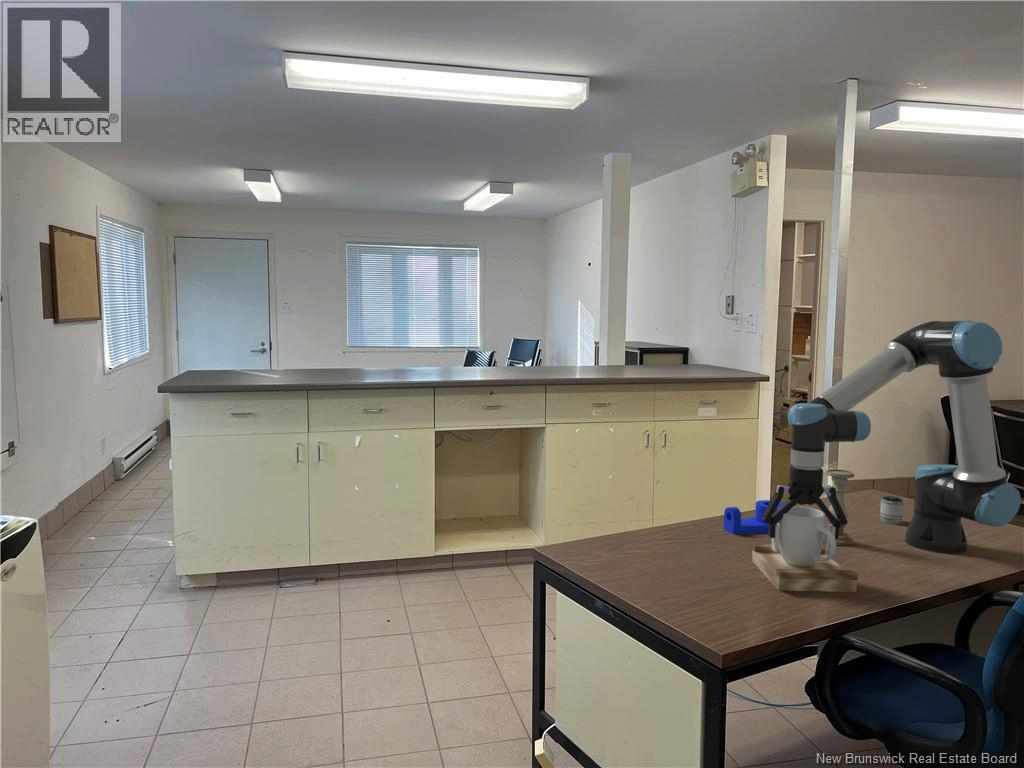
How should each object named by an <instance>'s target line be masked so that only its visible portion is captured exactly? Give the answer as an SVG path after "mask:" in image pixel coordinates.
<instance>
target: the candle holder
mask: <svg viewBox="0 0 1024 768" xmlns="http://www.w3.org/2000/svg"><path fill="white" fill-rule="evenodd" d="M824 473H825V475H826V476H829V477H830V479H831V481H832V482H833V486H832V487H834V488H835V489H836V497H837V499H838V502H839V504H840V506H841V508H842V510H843V513H844V515H845V517H846V519H847V520H848V516H849V514H848V513H849V512H848V509H847V507H846V505H845V492H847V489H846V486H845V485H846V483H847V482H848V479H852V478H855V476H856V475H855V473H854V472H853V471H850V470H846V469H837V468H836V469H831V468H829V469H827V470H825V471H824ZM828 509H829V511H830V512H831V513H832V514H833V516H834V517H835V518H836V519H838V518H837V516H836V514H835V511H834V509H833V507H832V505H831V504H829V507H828ZM828 524H831V525H832V523H831V522H830V521H829V520H828V521H827V525H828ZM845 527H847V524H846V525H845V524H843V525H841V527H840V528H839V537H838V539H835V541H836V546H850V545H852V544H853V543H854V539H853V538H852V537H851V536H850V535H849V533H847V532H845V531H844V529H845ZM823 543H825V544H827V535H826V534H824V541H823Z"/></svg>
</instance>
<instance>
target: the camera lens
mask: <svg viewBox="0 0 1024 768" xmlns="http://www.w3.org/2000/svg"><path fill="white" fill-rule="evenodd" d="M903 516H904V500H903V499H901V498H900V497H897V496H893V495H891V496H889V495H886V496H883V497H882V498H880V511H879V518H880V521H881V522H882V523H884V524H888V525H901V524H902V521H903Z"/></svg>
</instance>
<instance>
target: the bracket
mask: <svg viewBox="0 0 1024 768" xmlns="http://www.w3.org/2000/svg"><path fill="white" fill-rule="evenodd" d="M770 501H771V499H770V500H768V499H767V500H766V499H765V500H763V499H762V500H761V499H760V500H757V501H755V510H754V512H755V513H754V517H749V518H742V513H741V510H740V509H739V507H737V506H730V507H728V506H727V507H726V508H724V509H725V510H724V512H723V513H724V515H723V531H725V532H728V533H730V534H732V535H743V534H744V535H745V534H747V535H748V534H765V533H766V534H768V533H767V532H768V528H769V524H768V523H765V522H764V521H763V520H762V519H761V516H762V515H763V513H764V511H765V509H766V508H767V506H768V504H769V502H770ZM783 503H784V502H782V501H780V503H779V505H778V506H777V508H776V510H775V512H776V511H777V510H778V508H780V507H781V505H782V504H783ZM775 512H774V513H775Z"/></svg>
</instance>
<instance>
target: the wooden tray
mask: <svg viewBox="0 0 1024 768" xmlns="http://www.w3.org/2000/svg"><path fill="white" fill-rule="evenodd" d="M771 544H772V543H752V544H751V545H752V546H751V550H752V552H751V553H752V555H751V562H752V563H753V564H754V565H755V567H757V568H758V570H760V572H762V574H763V575H764V576H765V577H766V578H767V579H768V580H769V581H770V582H771V584H772V585H773V586H774V587H775V588H776V589H777V590H778V591H793V592H794V591H795V592H796V591H797V592H798V591H799V592H804V591H805V592H833V593H835V592H837V593H838V592H839V593H841V592H842V593H857V588H858V587H857V586H858V585H857V583H858V580H859V573H858V572H856V571H855V570H854V569H853V570H851V569H849V570H847V569H846V570H845V569H844V568H843V567H842V566H841V565H840V564H838V563H837V562H836V561H834V560H833V558H832V559H830V560H828V561H816V562H815V563H814V564H813V565H812V566H809V567H799V566H794V565H790V564H788V563H786V562H785V561H784V559H783V557H782V555H781V553H780V550H779V546H778V552H774V551H773V550H772V549H771ZM827 556H828V555H827V554H826V547H824V545H823V546H822V549H821V553H820V555H819V557H822V558H824V557H827Z"/></svg>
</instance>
